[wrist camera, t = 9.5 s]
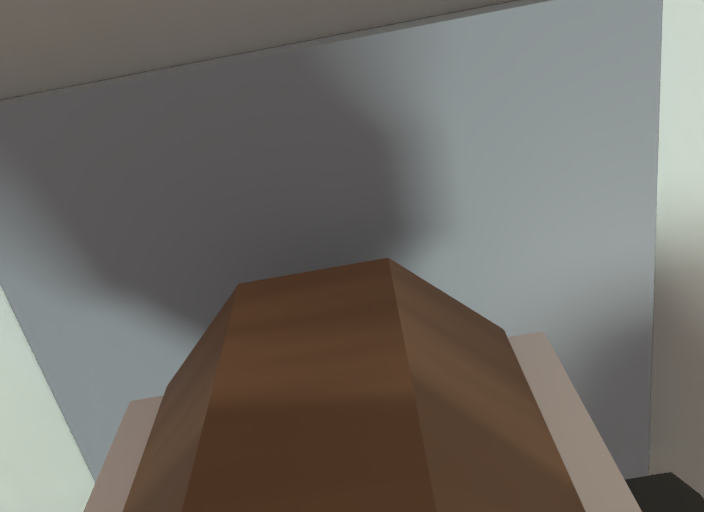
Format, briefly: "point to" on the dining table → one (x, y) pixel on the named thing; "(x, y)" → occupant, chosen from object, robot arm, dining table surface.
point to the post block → (348, 196)
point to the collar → (350, 406)
